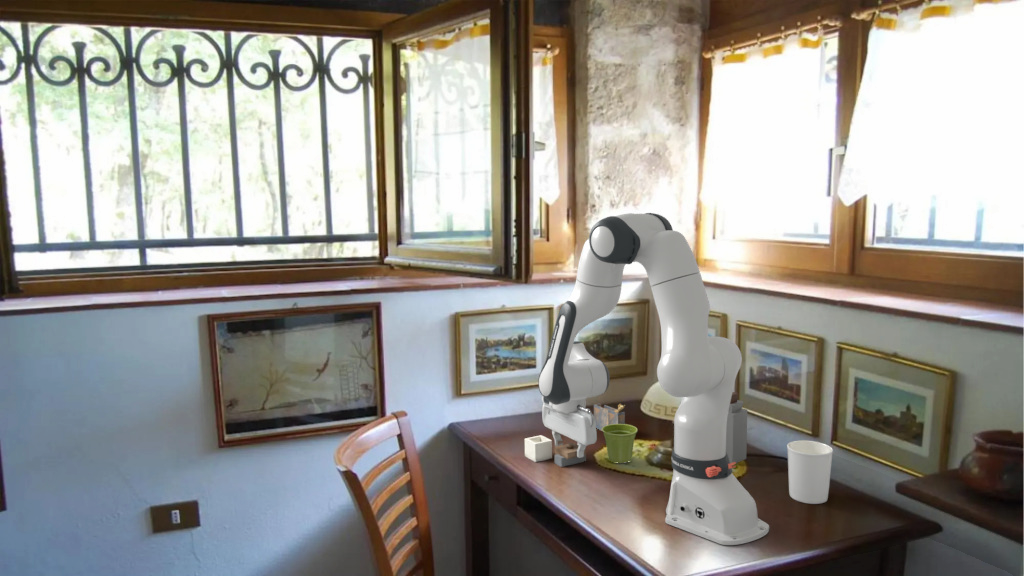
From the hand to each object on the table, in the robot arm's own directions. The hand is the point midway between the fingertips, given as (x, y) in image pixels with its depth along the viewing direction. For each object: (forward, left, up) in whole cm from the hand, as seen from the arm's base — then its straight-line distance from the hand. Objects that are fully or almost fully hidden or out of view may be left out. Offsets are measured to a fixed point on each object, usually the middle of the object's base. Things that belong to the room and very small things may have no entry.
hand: (569, 451), depth 194 cm
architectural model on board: (+15, -25, -4) cm, 29 cm away
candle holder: (-49, -33, -3) cm, 59 cm away
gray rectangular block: (0, 0, -3) cm, 3 cm away
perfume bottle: (-21, -37, -3) cm, 43 cm away
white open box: (+8, +5, -3) cm, 10 cm away
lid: (0, 0, -1) cm, 1 cm away
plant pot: (-6, -12, -3) cm, 14 cm away
